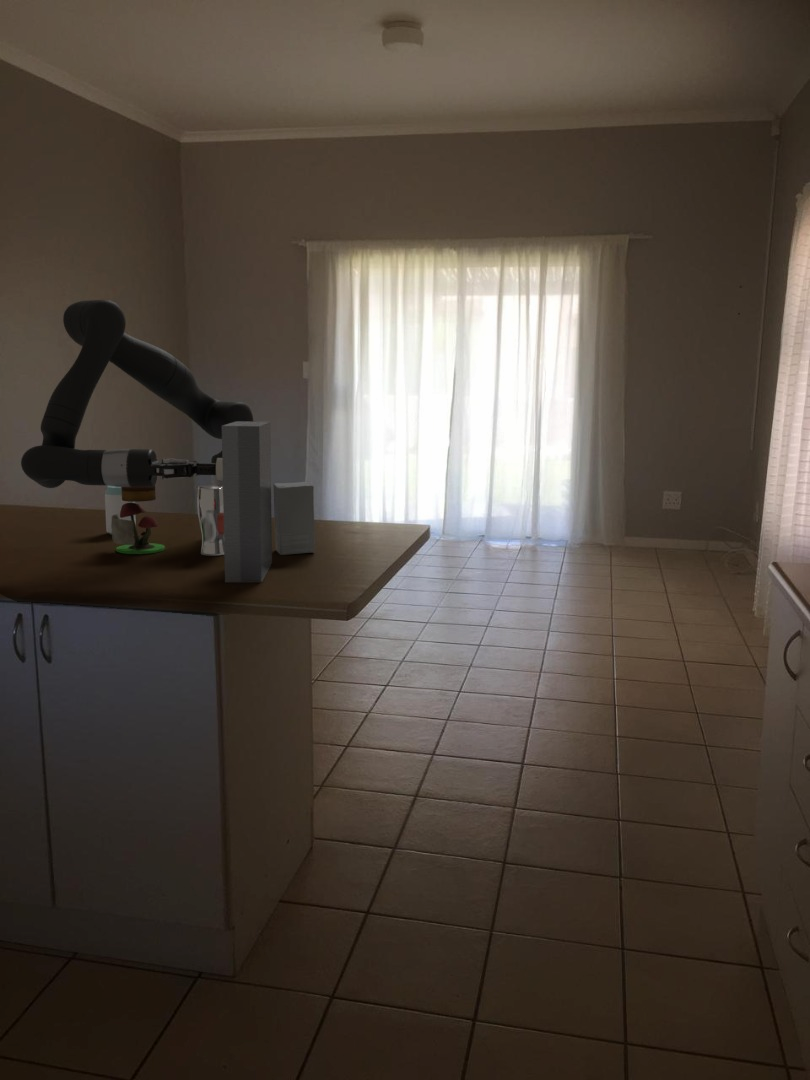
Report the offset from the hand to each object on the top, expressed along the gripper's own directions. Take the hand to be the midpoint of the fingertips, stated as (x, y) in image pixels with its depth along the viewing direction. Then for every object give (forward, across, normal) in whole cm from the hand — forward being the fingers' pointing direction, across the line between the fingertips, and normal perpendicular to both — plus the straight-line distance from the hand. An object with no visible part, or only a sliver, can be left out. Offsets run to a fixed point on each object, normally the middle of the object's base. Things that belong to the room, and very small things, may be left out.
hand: (217, 469), depth 176 cm
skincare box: (+13, +22, +21) cm, 33 cm away
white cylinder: (+3, 0, +2) cm, 3 cm away
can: (-32, +44, +21) cm, 59 cm away
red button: (+3, 0, +13) cm, 13 cm away
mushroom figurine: (-22, +23, +21) cm, 39 cm away
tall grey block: (+6, 0, +21) cm, 22 cm away
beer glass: (-5, +20, +21) cm, 29 cm away
